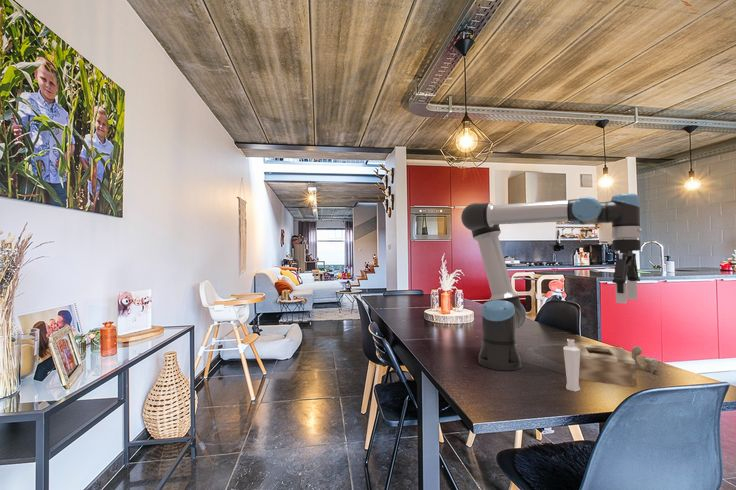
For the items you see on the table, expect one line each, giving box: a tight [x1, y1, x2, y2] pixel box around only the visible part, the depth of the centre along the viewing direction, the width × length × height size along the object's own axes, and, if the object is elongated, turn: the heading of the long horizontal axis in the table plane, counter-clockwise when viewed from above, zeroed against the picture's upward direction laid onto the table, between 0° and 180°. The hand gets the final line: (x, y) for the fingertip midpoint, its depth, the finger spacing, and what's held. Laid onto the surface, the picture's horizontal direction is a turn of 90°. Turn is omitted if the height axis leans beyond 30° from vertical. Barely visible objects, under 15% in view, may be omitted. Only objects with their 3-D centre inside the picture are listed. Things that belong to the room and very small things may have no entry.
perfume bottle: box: [563, 338, 581, 392], centre depth 99 cm, size 5×4×15 cm
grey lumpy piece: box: [631, 345, 660, 374], centre depth 114 cm, size 9×6×10 cm
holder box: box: [574, 342, 637, 388], centre depth 110 cm, size 16×16×8 cm
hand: (627, 301), depth 109 cm, fingers open, 13 cm apart
